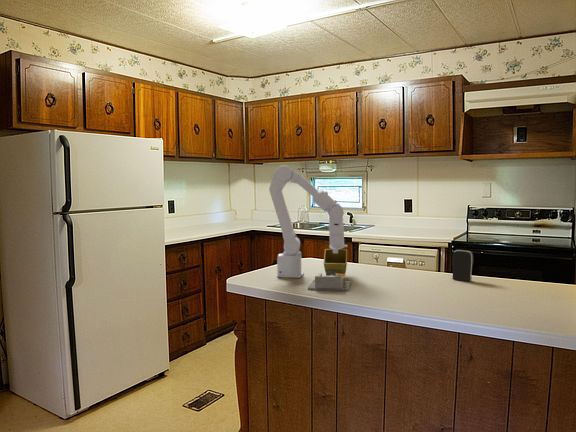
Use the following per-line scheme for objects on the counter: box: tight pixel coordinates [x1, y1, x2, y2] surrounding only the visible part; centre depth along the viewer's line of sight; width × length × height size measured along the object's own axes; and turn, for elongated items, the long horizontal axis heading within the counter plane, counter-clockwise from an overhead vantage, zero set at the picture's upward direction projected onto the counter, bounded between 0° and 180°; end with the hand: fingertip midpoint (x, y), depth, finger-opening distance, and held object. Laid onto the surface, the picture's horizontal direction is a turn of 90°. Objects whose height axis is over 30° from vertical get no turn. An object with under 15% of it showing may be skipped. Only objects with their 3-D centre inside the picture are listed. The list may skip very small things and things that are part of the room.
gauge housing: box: [307, 272, 352, 293], centre depth 161 cm, size 14×12×5 cm
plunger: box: [325, 270, 346, 277], centre depth 165 cm, size 8×10×4 cm
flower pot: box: [323, 248, 348, 275], centre depth 174 cm, size 9×9×9 cm
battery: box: [452, 249, 474, 282], centre depth 169 cm, size 7×4×11 cm, turn 50°
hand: (337, 268), depth 179 cm, fingers closed, pressing on flower pot
